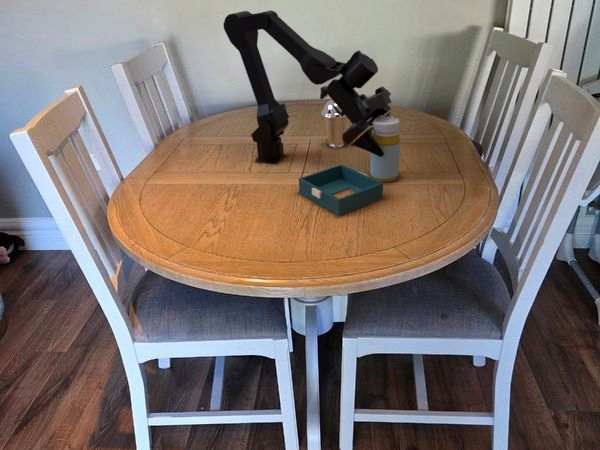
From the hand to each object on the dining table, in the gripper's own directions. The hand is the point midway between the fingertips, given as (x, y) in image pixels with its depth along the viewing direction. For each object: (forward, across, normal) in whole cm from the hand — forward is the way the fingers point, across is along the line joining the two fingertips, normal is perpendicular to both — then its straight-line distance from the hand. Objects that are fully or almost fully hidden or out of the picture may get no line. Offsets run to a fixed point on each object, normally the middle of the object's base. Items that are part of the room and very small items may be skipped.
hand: (389, 149), depth 119 cm
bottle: (+5, 0, +6) cm, 8 cm away
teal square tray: (+1, -14, +10) cm, 17 cm away
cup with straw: (-10, +16, +21) cm, 29 cm away
